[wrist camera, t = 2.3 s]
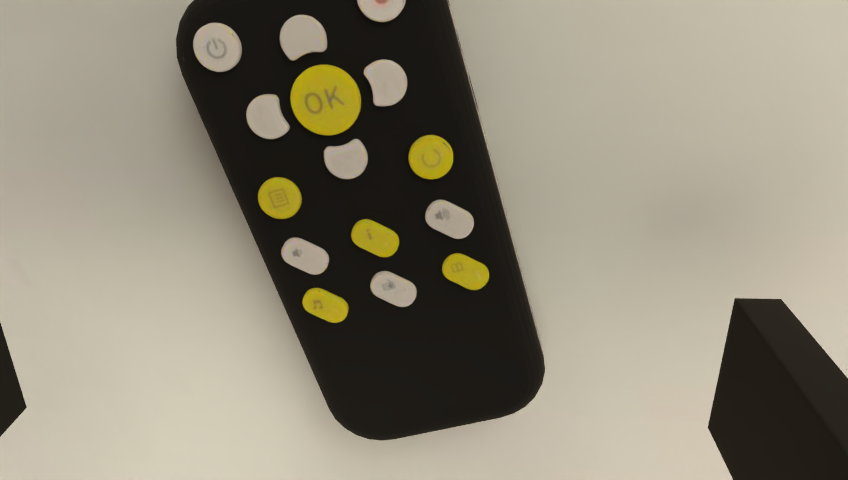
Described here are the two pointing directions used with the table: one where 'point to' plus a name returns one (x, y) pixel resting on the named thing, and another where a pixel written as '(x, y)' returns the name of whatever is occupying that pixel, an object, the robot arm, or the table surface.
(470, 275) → the remote control
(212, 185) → the table surface
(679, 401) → the table surface
